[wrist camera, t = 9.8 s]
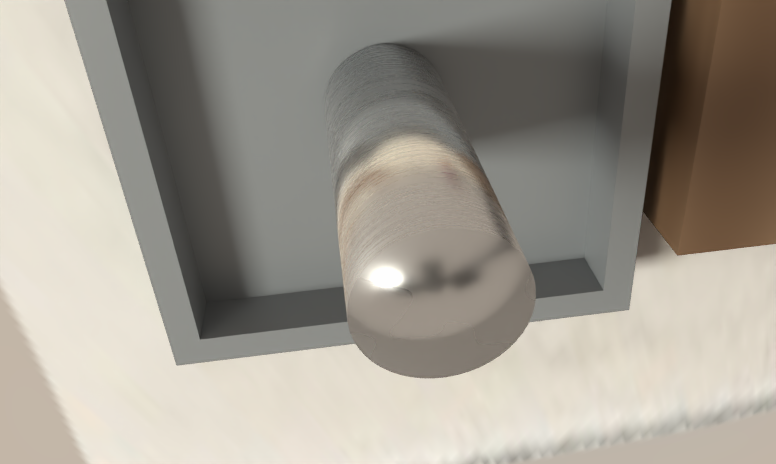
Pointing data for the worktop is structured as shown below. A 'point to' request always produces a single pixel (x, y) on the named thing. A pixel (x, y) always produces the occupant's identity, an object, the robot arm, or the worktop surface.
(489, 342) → the pin
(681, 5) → the block
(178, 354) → the tray
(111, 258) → the worktop surface
